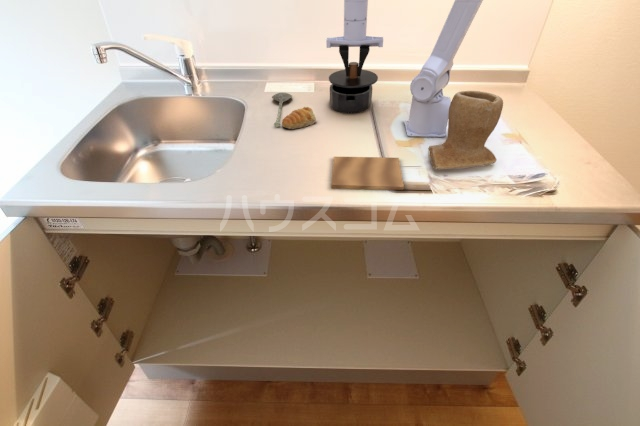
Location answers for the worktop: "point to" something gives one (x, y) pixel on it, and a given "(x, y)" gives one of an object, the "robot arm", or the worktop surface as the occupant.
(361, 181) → the board
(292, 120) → the pastry
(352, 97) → the pot
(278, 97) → the soupspoon
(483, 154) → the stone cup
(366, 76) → the lid
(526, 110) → the worktop surface
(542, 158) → the worktop surface
